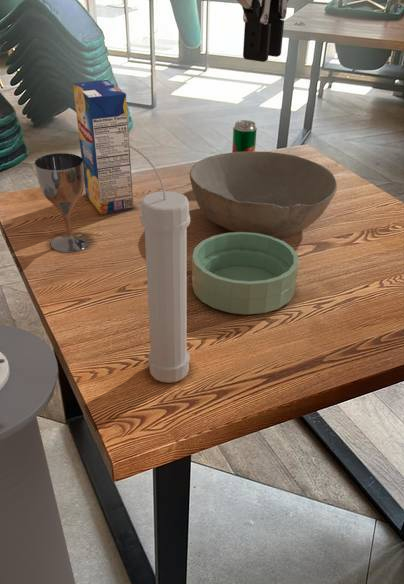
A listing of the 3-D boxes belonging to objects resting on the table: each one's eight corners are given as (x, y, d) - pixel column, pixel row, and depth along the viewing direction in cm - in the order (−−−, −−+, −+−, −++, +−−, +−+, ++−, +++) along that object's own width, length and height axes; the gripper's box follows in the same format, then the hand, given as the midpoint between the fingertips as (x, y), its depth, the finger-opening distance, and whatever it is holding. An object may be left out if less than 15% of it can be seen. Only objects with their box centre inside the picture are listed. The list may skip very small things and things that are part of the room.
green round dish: (224, 328, 85) (226, 294, 81) (175, 277, 96) (174, 244, 92) (314, 300, 91) (320, 267, 87) (258, 255, 102) (260, 224, 99)
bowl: (190, 255, 102) (190, 202, 96) (188, 193, 124) (188, 146, 117) (342, 255, 103) (353, 202, 97) (314, 193, 125) (321, 146, 118)
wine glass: (63, 229, 109) (51, 150, 100) (100, 237, 107) (91, 157, 97) (39, 248, 103) (24, 165, 94) (78, 256, 101) (66, 173, 92)
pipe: (189, 385, 75) (189, 155, 56) (141, 384, 75) (126, 154, 56) (190, 358, 79) (191, 137, 60) (145, 357, 79) (132, 136, 60)
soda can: (241, 183, 128) (245, 128, 121) (226, 176, 131) (228, 122, 124) (257, 178, 131) (261, 123, 123) (242, 171, 134) (245, 118, 126)
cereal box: (101, 214, 115) (89, 97, 101) (85, 194, 122) (72, 83, 108) (133, 209, 117) (126, 93, 103) (116, 189, 125) (107, 79, 111)
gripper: (278, -133, 67) (264, 44, 78) (206, -142, 56) (202, 65, 67) (339, -133, 64) (315, 50, 75) (275, -143, 53) (258, 74, 64)
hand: (262, 56), depth 71 cm, fingers closed
